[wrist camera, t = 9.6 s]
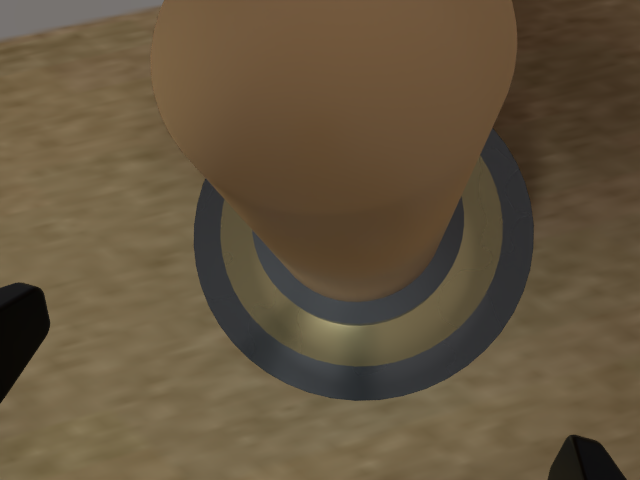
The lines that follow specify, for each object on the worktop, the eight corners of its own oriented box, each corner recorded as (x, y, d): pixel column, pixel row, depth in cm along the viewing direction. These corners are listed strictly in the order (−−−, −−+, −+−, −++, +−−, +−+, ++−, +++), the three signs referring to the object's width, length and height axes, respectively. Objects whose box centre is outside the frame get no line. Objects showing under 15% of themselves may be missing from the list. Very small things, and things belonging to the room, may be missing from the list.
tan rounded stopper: (489, 291, 16) (643, 175, 7) (286, 350, 17) (156, 320, 7) (422, 108, 18) (469, -196, 8) (238, 164, 18) (80, -69, 9)
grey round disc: (497, 422, 19) (521, 432, 15) (192, 368, 20) (157, 367, 17) (523, 126, 21) (548, 82, 18) (248, 99, 23) (227, 55, 19)
